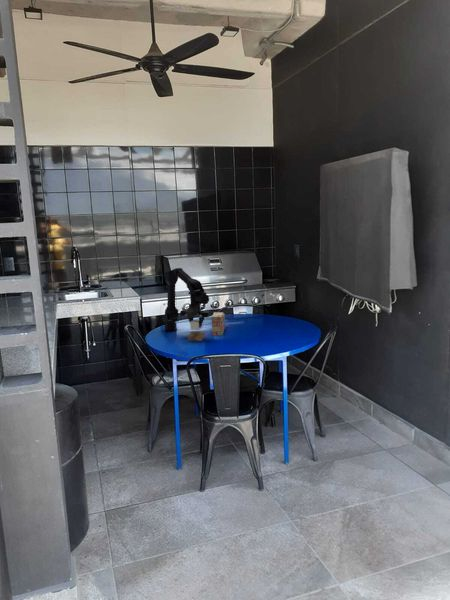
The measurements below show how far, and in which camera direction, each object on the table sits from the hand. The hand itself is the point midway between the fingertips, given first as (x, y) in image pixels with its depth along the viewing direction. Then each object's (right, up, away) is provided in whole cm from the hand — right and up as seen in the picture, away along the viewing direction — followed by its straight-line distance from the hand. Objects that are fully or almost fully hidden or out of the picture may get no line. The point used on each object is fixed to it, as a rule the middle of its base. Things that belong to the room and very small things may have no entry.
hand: (196, 327), depth 274 cm
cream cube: (0, -1, 0) cm, 1 cm away
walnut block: (0, -7, +1) cm, 8 cm away
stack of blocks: (+14, -4, +18) cm, 23 cm away
